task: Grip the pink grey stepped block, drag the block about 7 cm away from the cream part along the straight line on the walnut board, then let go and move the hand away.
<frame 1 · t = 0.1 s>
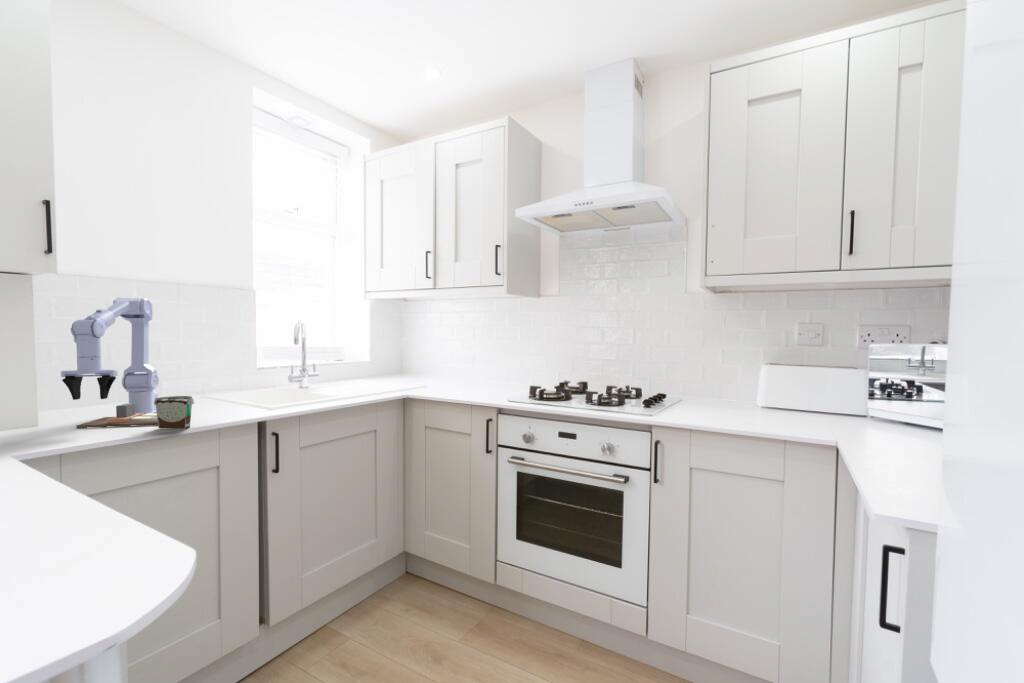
hand: (90, 399, 148), 10 cm above the countertop, tool pointing down, fingers open, 7 cm apart
food container: (179, 427, 152), on the countertop
pink grey stepped block: (126, 412, 159), point 4 cm above the countertop, slide at 0.0 cm
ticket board: (141, 422, 160), on the countertop
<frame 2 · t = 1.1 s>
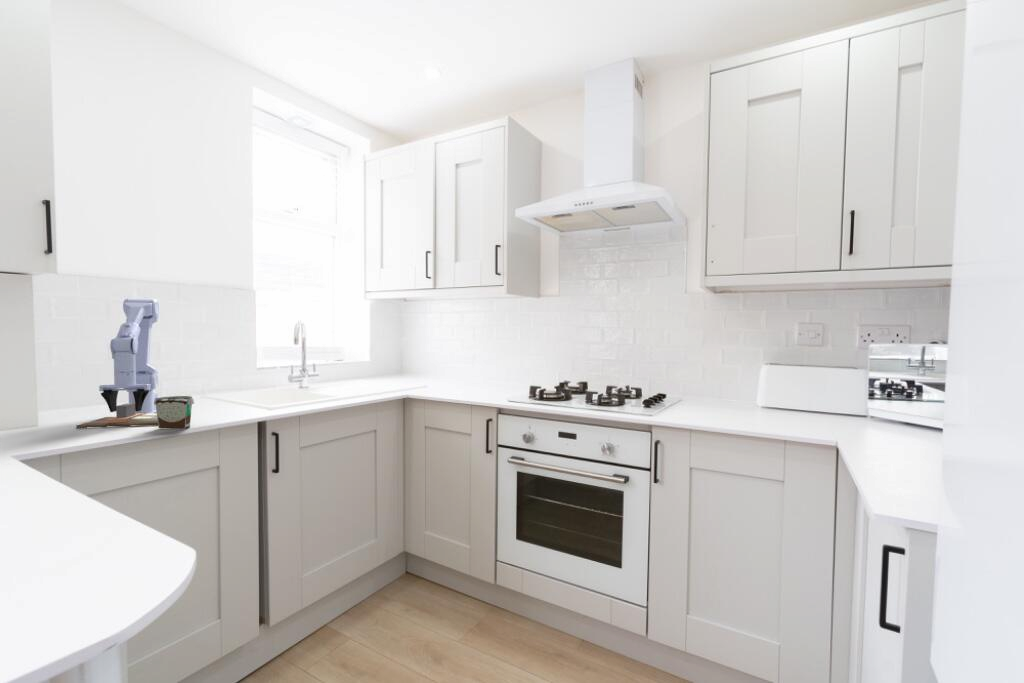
hand: (125, 411, 159), 4 cm above the countertop, tool pointing down, fingers open, 7 cm apart
nothing on the countertop moved.
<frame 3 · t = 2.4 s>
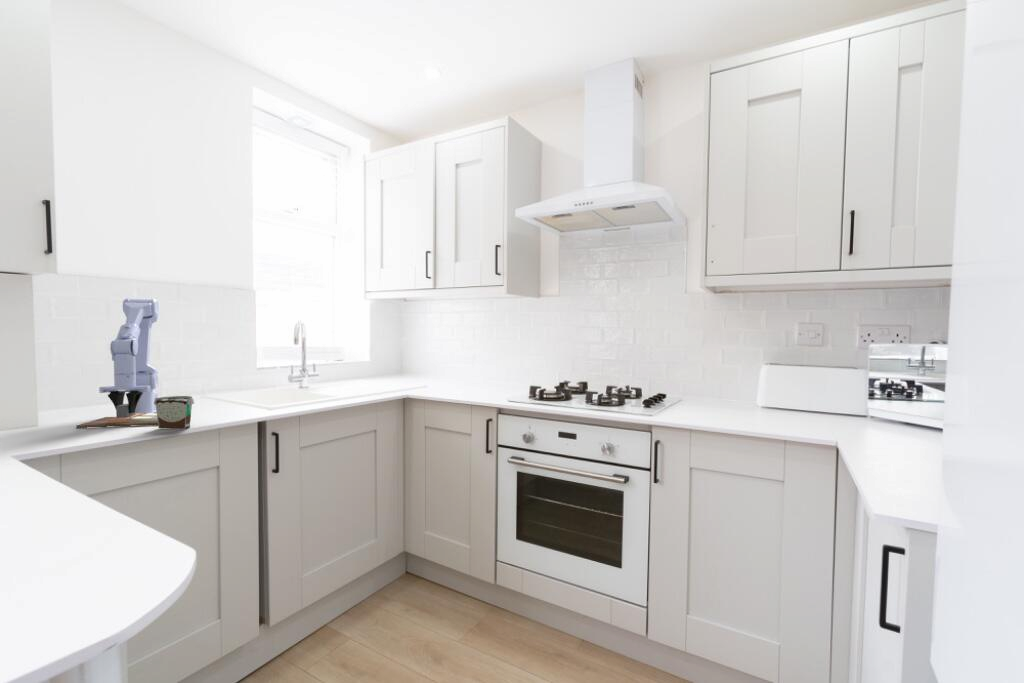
hand: (126, 413, 159), 3 cm above the countertop, tool pointing down, fingers closed on pink grey stepped block, 3 cm apart
pink grey stepped block: (126, 412, 159), point 4 cm above the countertop, slide at 0.0 cm, touching gripper
everything else where it was.
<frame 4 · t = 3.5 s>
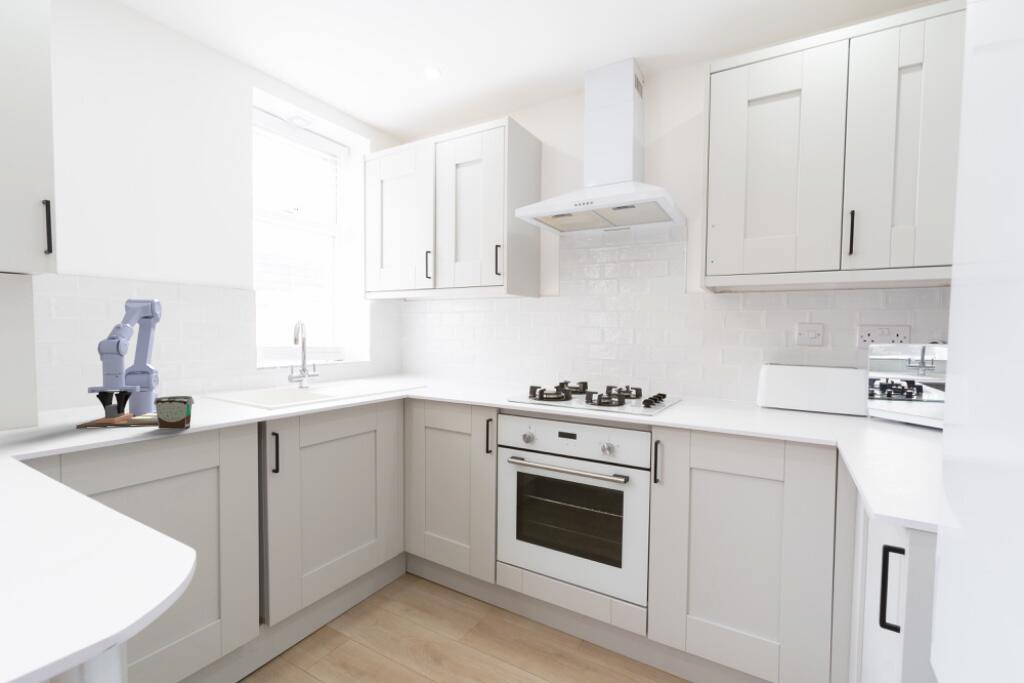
hand: (114, 413, 158), 3 cm above the countertop, tool pointing down, fingers closed on pink grey stepped block, 3 cm apart
pink grey stepped block: (114, 412, 158), point 4 cm above the countertop, slide at 3.4 cm, touching gripper
everything else where it was.
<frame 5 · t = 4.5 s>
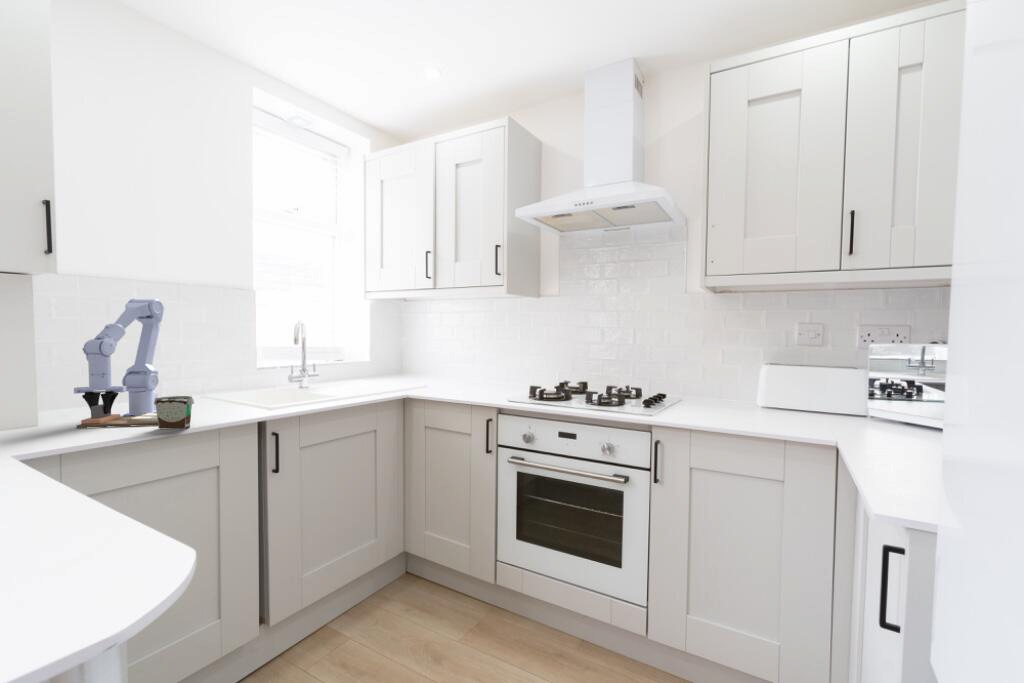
hand: (101, 413, 157), 3 cm above the countertop, tool pointing down, fingers closed on pink grey stepped block, 3 cm apart
pink grey stepped block: (101, 412, 157), point 4 cm above the countertop, slide at 7.5 cm, touching gripper
everything else where it was.
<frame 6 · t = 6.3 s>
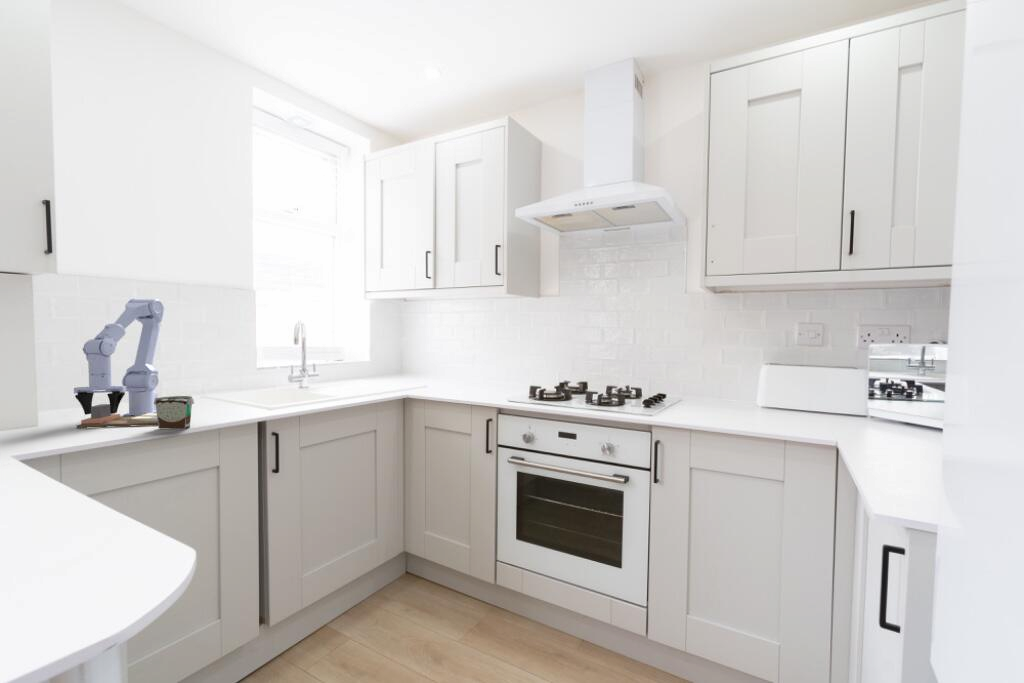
hand: (101, 413, 157), 3 cm above the countertop, tool pointing down, fingers open, 7 cm apart
pink grey stepped block: (101, 412, 157), point 4 cm above the countertop, slide at 7.5 cm
everything else where it was.
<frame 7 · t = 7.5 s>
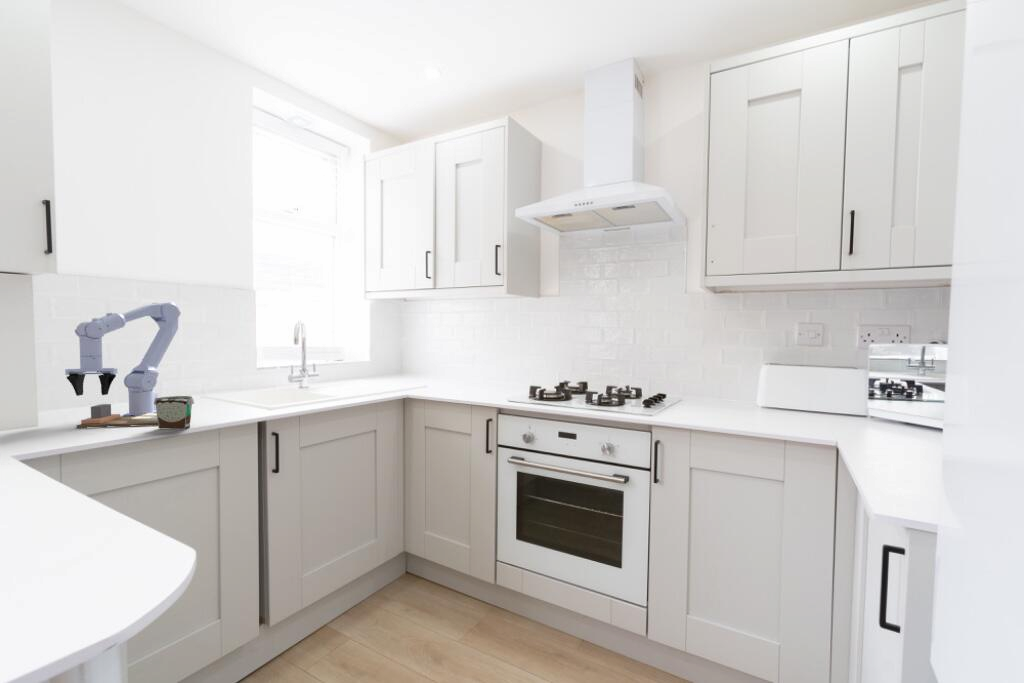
hand: (92, 395, 160), 9 cm above the countertop, tool pointing down, fingers open, 7 cm apart
nothing on the countertop moved.
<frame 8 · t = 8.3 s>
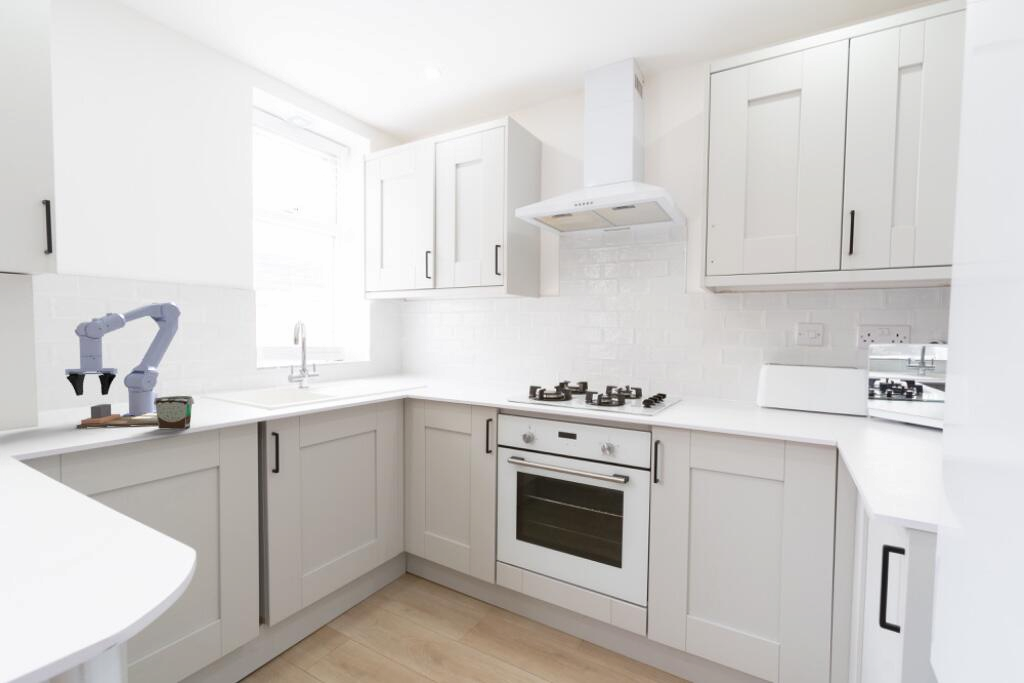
hand: (92, 395, 160), 9 cm above the countertop, tool pointing down, fingers open, 7 cm apart
nothing on the countertop moved.
at the end: pink grey stepped block slide at 7.5 cm; food container moved 0.2 cm from its start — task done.
